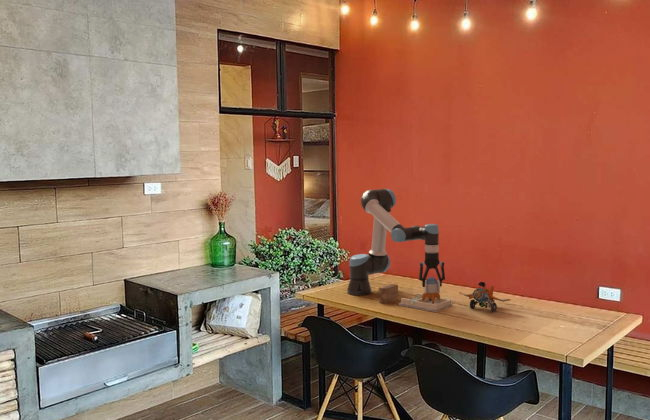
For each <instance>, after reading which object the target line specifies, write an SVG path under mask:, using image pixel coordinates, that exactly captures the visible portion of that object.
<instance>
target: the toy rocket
mask: <svg viewBox="0 0 650 420" xmlns="http://www.w3.org/2000/svg"><path fill="white" fill-rule="evenodd" d="M425 281H426V292H427V293H424V292H423V293H422V294H423V295H422V300H423V301H424V300H425V298H426V297H428V298H429V300H431V301H432V304H434V299H435V298H437V299H438V300H440V298H441V295H440V293H438V280H437V278H435V277H434V276H429V277H428V278H426V280H425Z"/></svg>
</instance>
